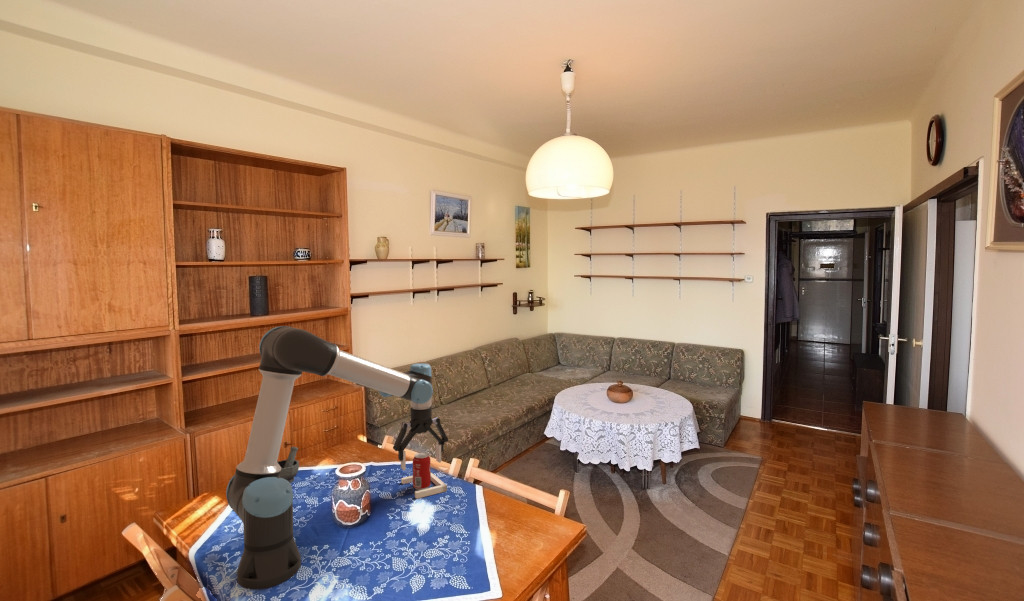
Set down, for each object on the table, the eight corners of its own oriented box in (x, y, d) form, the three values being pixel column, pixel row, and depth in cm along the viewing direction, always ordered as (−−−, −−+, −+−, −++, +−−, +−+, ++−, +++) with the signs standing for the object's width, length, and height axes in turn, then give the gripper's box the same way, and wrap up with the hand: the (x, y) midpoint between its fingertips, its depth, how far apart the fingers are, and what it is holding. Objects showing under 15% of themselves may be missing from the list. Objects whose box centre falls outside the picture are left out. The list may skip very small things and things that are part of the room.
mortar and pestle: (286, 489, 175) (285, 456, 174) (264, 486, 177) (264, 453, 177) (307, 477, 185) (307, 446, 185) (287, 474, 188) (286, 443, 187)
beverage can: (434, 486, 177) (433, 454, 176) (422, 492, 171) (421, 459, 171) (421, 482, 180) (421, 450, 180) (409, 488, 175) (408, 455, 174)
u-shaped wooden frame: (447, 491, 173) (447, 485, 173) (416, 498, 167) (416, 493, 167) (430, 476, 185) (430, 471, 185) (401, 483, 179) (401, 478, 179)
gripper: (448, 400, 184) (448, 455, 185) (383, 409, 171) (384, 468, 172) (457, 404, 178) (457, 461, 179) (390, 414, 165) (391, 475, 165)
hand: (421, 465), depth 175 cm, fingers open, 13 cm apart
